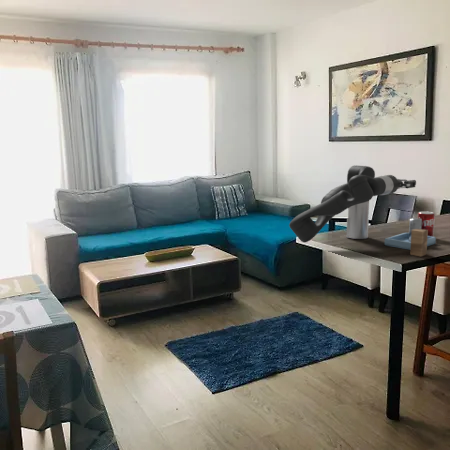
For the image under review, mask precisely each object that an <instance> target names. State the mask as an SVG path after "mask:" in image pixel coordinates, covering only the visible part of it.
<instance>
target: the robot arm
mask: <svg viewBox="0 0 450 450" xmlns="http://www.w3.org/2000/svg"><path fill="white" fill-rule="evenodd" d="M416 185H417V181H416V180H415V179H412V180H411V179H409V180H407V179H406V178H405V179H404V178H403V179H401V178H400V179H399V178H397V177H396V176H395V175H393V174H387V175H386V174H385V175H380V176H376V171H375V170H374V168H373V167H371V166H367V165H352V166H350V167H349V169H348V171H347V176H346V183H343V184H341V185H339V186H336V187H334V188H332V189H331V190H330V191H328V193H326V194H325V195H324V196H323V197H322V199H321V201H320V203H319V204H317V205H315V206H312V207H311V208H309V209H307V210H305V211H303V212H301V213H299V214H297V215H296V216H295V217H294V218H293V219H291V221H290V222H289V224H288V227H289V228H290V230H292V232H293V233H294V235H295V236H296V237H297V238H298V240H299V241H300V242H301V243H308V242H310V241H311V240H312V239H313V238H315V236H317V234H319V233H320V231H321V230H322V229H323V228H324V227H325V226H326V224H327V223H328V222H329V221H330V220H331V219H333V218H334V217H335V216H336V215H339V214H341V213H343V212H345V210H347V209H348V210H347V217H346V238H349V239H355V240H365V239H368V237H369V219H370V218H369V215H370V201H371V200H372V199H373V197H377V196H385V195H392V194H394V193H396V192H397V190H400V189H412V188H413V189H414V188H416ZM312 217H316V220H315V222H314V220H313V219H312Z"/></svg>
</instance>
